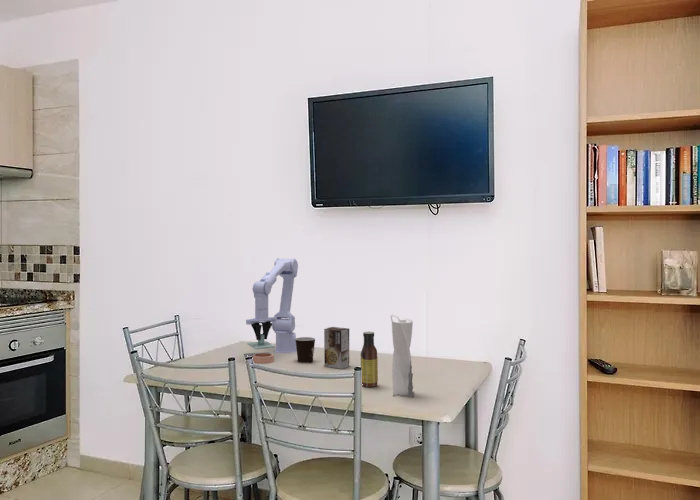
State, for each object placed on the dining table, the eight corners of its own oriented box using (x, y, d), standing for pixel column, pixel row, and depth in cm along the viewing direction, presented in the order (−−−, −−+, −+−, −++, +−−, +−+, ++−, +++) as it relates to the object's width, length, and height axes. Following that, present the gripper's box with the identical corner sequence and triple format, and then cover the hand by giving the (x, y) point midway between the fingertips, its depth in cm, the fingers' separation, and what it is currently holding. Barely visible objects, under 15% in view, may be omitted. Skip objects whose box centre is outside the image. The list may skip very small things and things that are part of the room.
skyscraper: (388, 396, 202) (389, 316, 201) (391, 390, 210) (391, 313, 209) (412, 398, 201) (413, 317, 200) (414, 391, 209) (415, 313, 208)
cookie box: (350, 366, 247) (350, 328, 246) (341, 369, 241) (341, 330, 241) (332, 363, 252) (332, 326, 251) (323, 366, 246) (323, 328, 246)
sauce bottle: (367, 382, 220) (368, 330, 220) (381, 385, 216) (381, 331, 216) (356, 385, 215) (357, 332, 215) (370, 388, 211) (370, 334, 211)
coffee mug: (306, 364, 249) (306, 341, 249) (291, 361, 254) (291, 339, 254) (323, 360, 259) (323, 337, 258) (308, 357, 264) (308, 335, 263)
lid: (266, 342, 263) (266, 331, 263) (274, 347, 256) (275, 336, 255) (247, 344, 259) (247, 333, 258) (255, 349, 251) (255, 337, 251)
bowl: (272, 359, 260) (272, 352, 260) (275, 363, 251) (275, 356, 251) (251, 360, 257) (251, 353, 257) (253, 364, 249) (253, 357, 249)
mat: (269, 353, 273) (269, 352, 273) (272, 358, 261) (272, 357, 261) (243, 354, 270) (243, 353, 270) (245, 359, 258) (245, 359, 258)
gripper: (271, 306, 264) (270, 336, 264) (242, 308, 255) (242, 339, 255) (279, 308, 259) (279, 338, 259) (250, 310, 249) (250, 342, 250)
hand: (261, 339), depth 257 cm, fingers closed on lid, 3 cm apart
